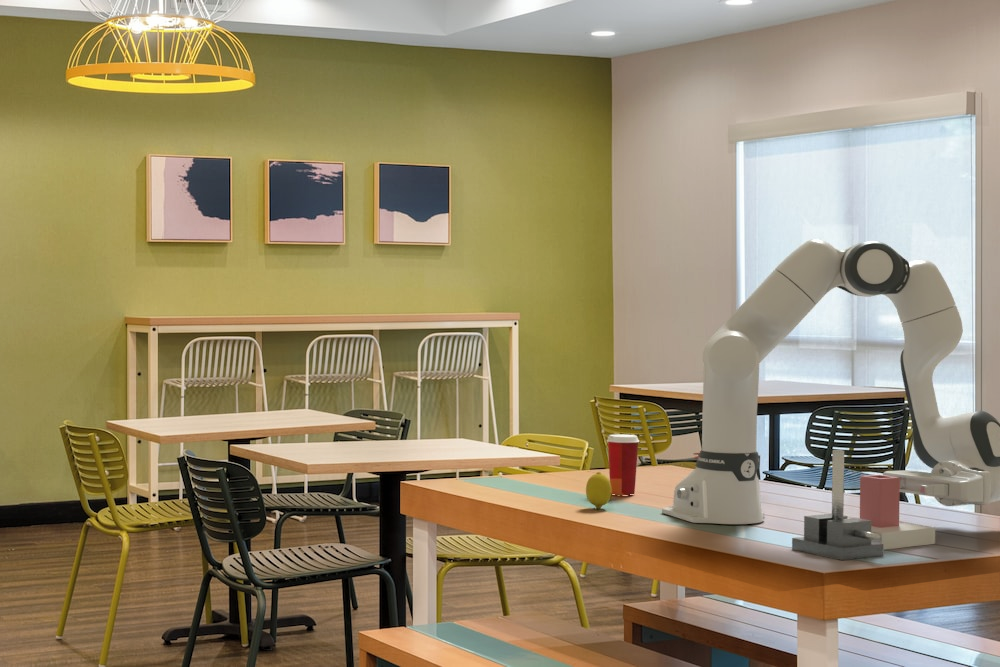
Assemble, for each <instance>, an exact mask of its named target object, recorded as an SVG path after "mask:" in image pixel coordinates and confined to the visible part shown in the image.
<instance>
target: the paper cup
mask: <svg viewBox="0 0 1000 667" xmlns="http://www.w3.org/2000/svg"><path fill="white" fill-rule="evenodd" d="M606 442H607V448H608V451H607V452H608V468H609V469H608V470H609V471H608V472H609V481H610V484H611V494H615V495H630V494H634V495H635V492H636V482H637V481H636V479H637V465H638V455H639V454H638V452H639V451H638V450H639V443H640V440H639V438H638V436H637V435H635V434H622V433H621V434H619V433H618V434H617V433H616V434H608V437H607V439H606Z"/></svg>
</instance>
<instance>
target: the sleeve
mask: <svg viewBox="0 0 1000 667" xmlns="http://www.w3.org/2000/svg"><path fill="white" fill-rule="evenodd" d="M859 478H860V479H859V480H860V481H859V518H860V519H865V520H871V526H874V527H879V528H882V527H892V526H899V521H900V497H901V496H900V494H901V492H900V477H893V476H885V475H883V474H869V475H866V474H865V475H860V477H859Z"/></svg>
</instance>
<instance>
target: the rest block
mask: <svg viewBox="0 0 1000 667" xmlns="http://www.w3.org/2000/svg"><path fill="white" fill-rule="evenodd" d="M871 533H875V534H880V535H881V536H882V539H881V541H874V540H871V542H876V543H881V544H883V551H884V550H894V549H900V548H901V549H902V548H909V547H918V546H925V545H927V546H928V545H935V544H936V527H935V526H929V525H925V524H924V525H922V524H918V523H911V522H906V521H901V520H899V526H892V527H882V528H879V527H874V526H871Z"/></svg>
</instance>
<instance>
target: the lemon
mask: <svg viewBox="0 0 1000 667" xmlns="http://www.w3.org/2000/svg"><path fill="white" fill-rule="evenodd" d="M585 495H586V498H587V500H588V502H589V503H590V504H591V505H593V506H595V508H596V509H598V510H599V509H601V508H602V507H603V506H604V505H606V504H607V503H609V501H610V500H611V498H612V497H611V496H612V495H611V484H610V478H608V476H607V475H605V474H603V473H601V471H598V472H596V473H594V474H592V475H591V476H590V477H589V478H588V480H587V482H586V487H585Z"/></svg>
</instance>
